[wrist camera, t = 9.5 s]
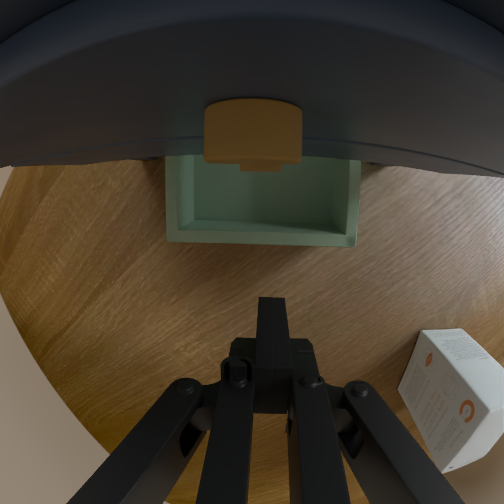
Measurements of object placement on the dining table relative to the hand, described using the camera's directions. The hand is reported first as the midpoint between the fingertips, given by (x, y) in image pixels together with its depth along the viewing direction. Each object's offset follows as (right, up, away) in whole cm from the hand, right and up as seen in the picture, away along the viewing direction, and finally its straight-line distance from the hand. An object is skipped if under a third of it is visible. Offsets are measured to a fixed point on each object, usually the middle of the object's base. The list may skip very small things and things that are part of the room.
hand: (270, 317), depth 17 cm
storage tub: (0, +14, +3) cm, 15 cm away
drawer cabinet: (0, +17, +3) cm, 17 cm away
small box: (+18, -8, +8) cm, 22 cm away
